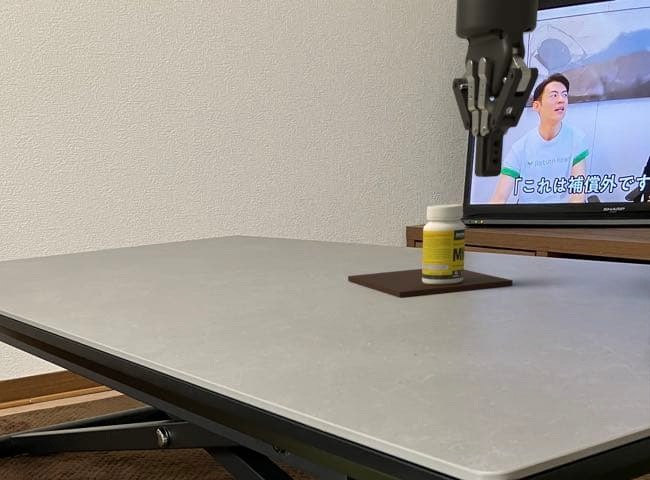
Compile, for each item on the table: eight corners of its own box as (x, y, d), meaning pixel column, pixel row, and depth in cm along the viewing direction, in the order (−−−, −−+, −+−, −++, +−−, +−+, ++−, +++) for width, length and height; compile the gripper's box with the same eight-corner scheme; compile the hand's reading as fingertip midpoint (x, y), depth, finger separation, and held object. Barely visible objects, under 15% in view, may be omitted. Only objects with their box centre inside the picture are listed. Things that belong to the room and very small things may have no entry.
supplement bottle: (458, 285, 102) (460, 206, 98) (417, 285, 104) (418, 208, 100) (467, 279, 106) (470, 203, 102) (427, 279, 108) (429, 204, 104)
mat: (448, 270, 118) (448, 266, 118) (512, 285, 104) (512, 280, 103) (347, 280, 115) (347, 276, 115) (399, 297, 100) (399, 291, 100)
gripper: (574, -36, 80) (557, 175, 87) (498, -11, 92) (488, 173, 98) (498, -35, 78) (486, 179, 85) (430, -10, 90) (425, 177, 97)
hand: (487, 176), depth 92 cm, fingers closed
